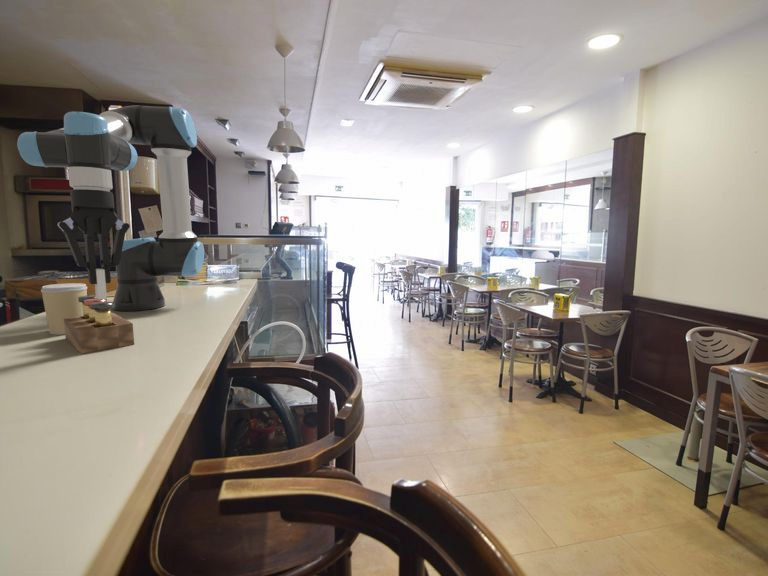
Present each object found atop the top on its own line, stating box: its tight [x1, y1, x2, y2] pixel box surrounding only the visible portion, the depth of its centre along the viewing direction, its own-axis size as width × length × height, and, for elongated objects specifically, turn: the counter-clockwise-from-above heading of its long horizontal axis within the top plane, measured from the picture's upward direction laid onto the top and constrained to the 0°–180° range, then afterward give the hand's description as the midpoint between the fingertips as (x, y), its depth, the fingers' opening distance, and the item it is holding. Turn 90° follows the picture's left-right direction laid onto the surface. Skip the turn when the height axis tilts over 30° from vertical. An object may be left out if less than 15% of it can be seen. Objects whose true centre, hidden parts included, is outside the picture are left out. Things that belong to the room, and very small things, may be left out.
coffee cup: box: [40, 282, 88, 336], centre depth 104 cm, size 9×9×12 cm
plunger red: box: [84, 298, 108, 323], centre depth 94 cm, size 4×4×6 cm
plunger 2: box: [90, 301, 114, 328], centre depth 90 cm, size 4×4×6 cm
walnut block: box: [64, 312, 135, 354], centre depth 95 cm, size 10×17×5 cm, turn 47°
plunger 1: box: [78, 294, 96, 319], centre depth 98 cm, size 4×4×6 cm
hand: (101, 298), depth 89 cm, fingers closed
